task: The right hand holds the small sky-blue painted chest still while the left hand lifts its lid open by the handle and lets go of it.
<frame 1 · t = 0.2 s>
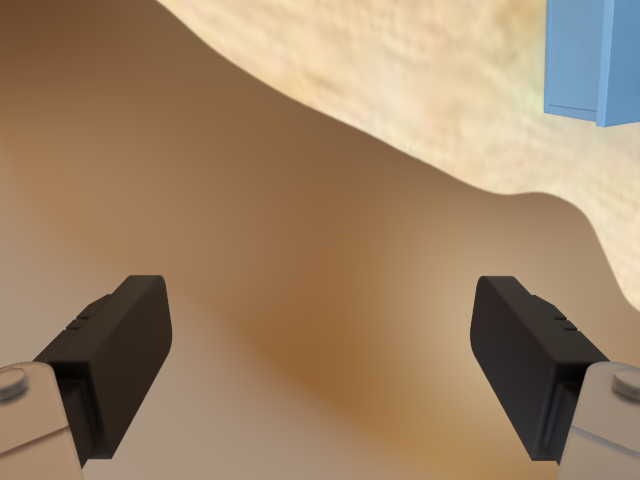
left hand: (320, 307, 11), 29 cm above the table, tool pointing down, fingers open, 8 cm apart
chest: (625, 40, 35), on the table
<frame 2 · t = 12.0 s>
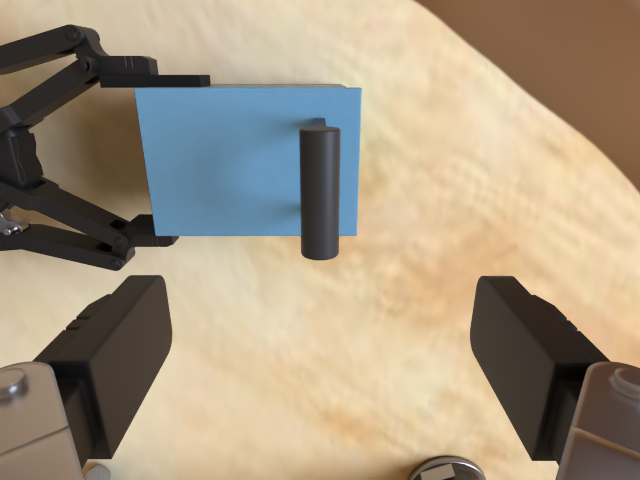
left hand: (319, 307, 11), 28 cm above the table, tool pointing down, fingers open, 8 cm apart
right hand: (212, 157, 31), fingers closed on chest, 10 cm apart
chest: (264, 143, 37), on the table, touching right hand
lid: (243, 178, 25), point 13 cm above the table, hinge at -0.1°
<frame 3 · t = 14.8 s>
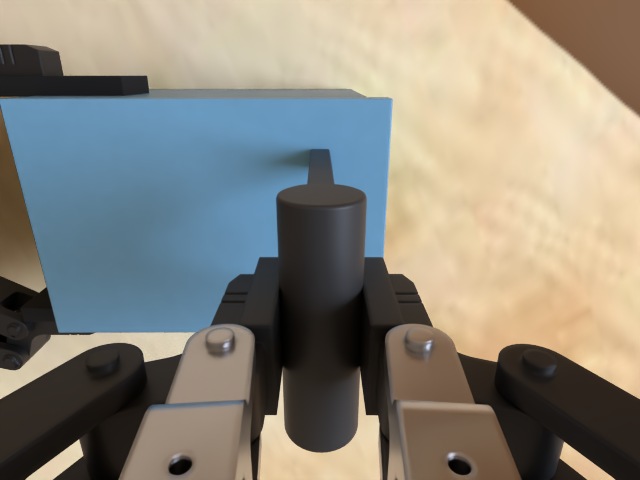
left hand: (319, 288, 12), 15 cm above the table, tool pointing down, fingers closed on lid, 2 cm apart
chest: (241, 173, 26), on the table, touching right hand
lid: (182, 264, 14), point 13 cm above the table, hinge at -0.1°, touching left hand
when the right hand's fingers open (6 cm above the table, at t = 22.1 s): chest stays where it is, on the table.
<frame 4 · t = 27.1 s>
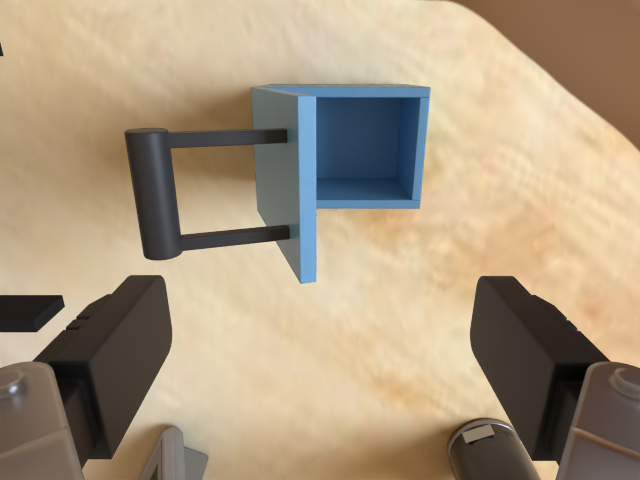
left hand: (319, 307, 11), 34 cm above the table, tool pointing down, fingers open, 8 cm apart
digital clock: (169, 465, 58), on the table
chest: (338, 135, 42), on the table
lid: (216, 173, 26), point 17 cm above the table, hinge at 72.6°
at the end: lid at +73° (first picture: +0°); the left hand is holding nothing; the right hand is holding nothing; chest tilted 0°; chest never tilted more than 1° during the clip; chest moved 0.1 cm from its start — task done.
